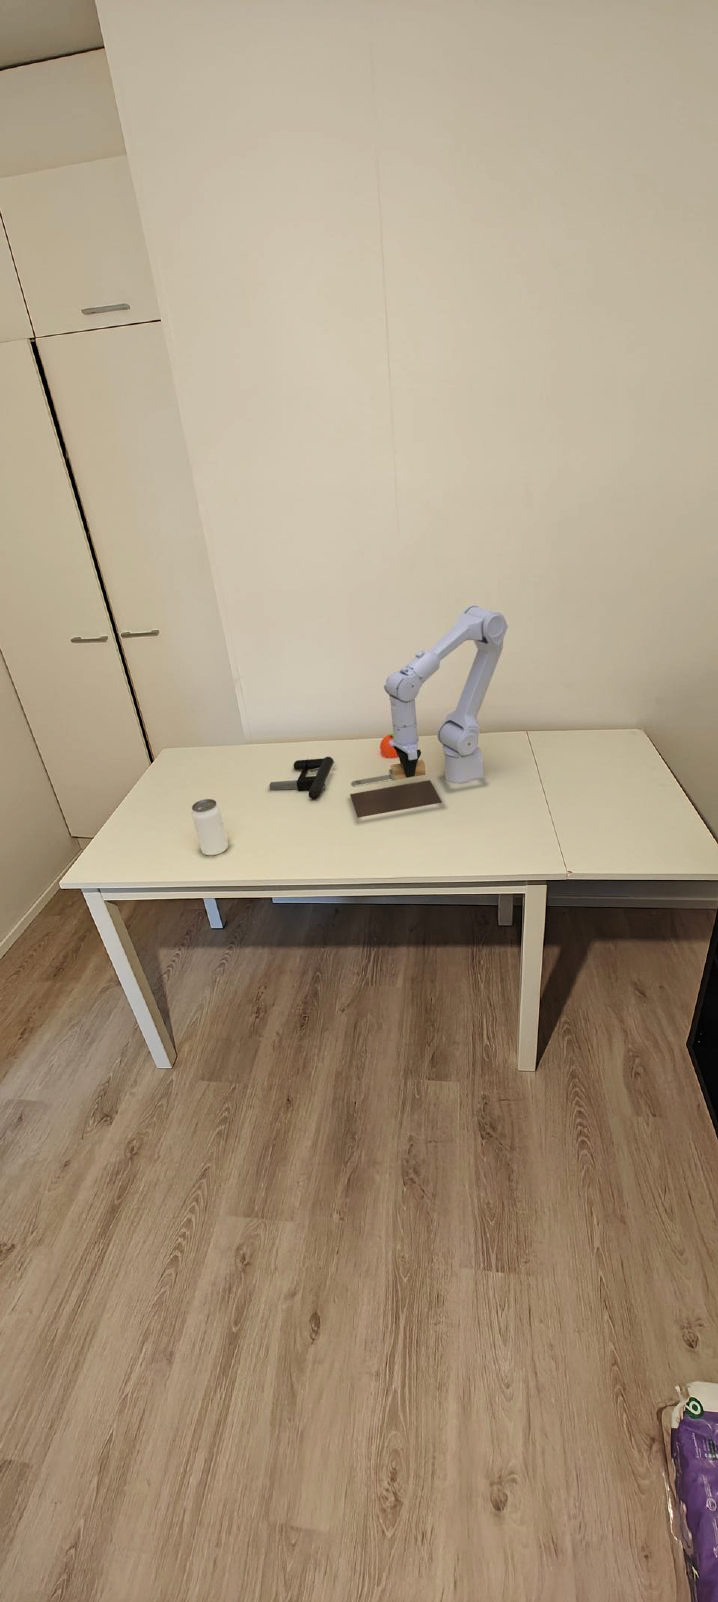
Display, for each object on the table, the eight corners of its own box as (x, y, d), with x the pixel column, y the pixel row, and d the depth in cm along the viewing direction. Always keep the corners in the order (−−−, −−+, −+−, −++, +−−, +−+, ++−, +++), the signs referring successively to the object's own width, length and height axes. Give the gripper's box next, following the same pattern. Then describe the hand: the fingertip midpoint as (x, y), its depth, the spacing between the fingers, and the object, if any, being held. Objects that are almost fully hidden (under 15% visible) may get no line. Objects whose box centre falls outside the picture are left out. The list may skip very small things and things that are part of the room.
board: (430, 785, 183) (430, 779, 183) (442, 807, 173) (442, 802, 172) (350, 799, 181) (349, 794, 181) (358, 822, 171) (357, 817, 170)
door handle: (262, 793, 184) (321, 789, 180) (282, 758, 201) (337, 754, 197) (265, 804, 186) (324, 800, 182) (285, 768, 203) (339, 764, 199)
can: (203, 843, 171) (191, 800, 165) (229, 839, 171) (219, 796, 165) (200, 858, 165) (188, 814, 159) (227, 854, 165) (216, 810, 159)
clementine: (392, 749, 204) (389, 726, 200) (412, 753, 200) (410, 730, 196) (376, 760, 198) (373, 737, 195) (397, 765, 195) (394, 742, 191)
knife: (422, 770, 175) (422, 759, 174) (425, 775, 173) (424, 764, 172) (350, 782, 174) (348, 771, 172) (351, 787, 171) (350, 777, 170)
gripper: (382, 713, 173) (386, 763, 180) (394, 737, 160) (398, 789, 167) (410, 709, 173) (414, 758, 180) (424, 732, 161) (428, 784, 168)
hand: (408, 773), depth 174 cm, fingers closed on knife, 2 cm apart
